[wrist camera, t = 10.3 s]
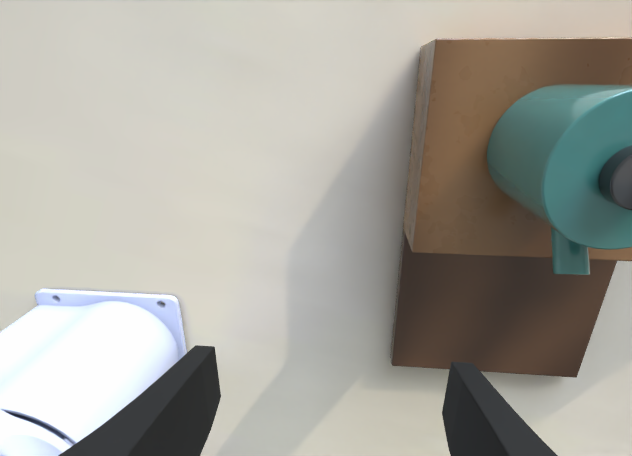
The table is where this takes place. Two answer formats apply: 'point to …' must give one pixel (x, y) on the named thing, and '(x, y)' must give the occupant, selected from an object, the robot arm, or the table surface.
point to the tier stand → (491, 216)
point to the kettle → (570, 167)
